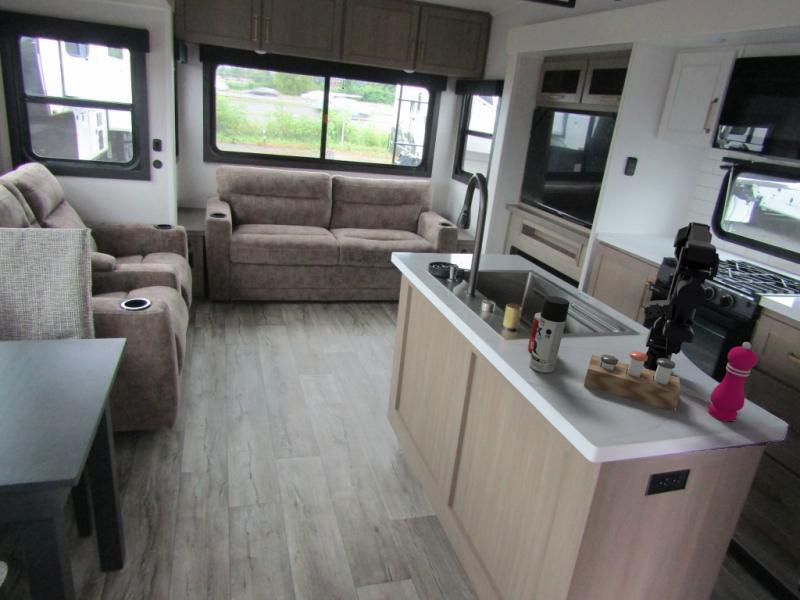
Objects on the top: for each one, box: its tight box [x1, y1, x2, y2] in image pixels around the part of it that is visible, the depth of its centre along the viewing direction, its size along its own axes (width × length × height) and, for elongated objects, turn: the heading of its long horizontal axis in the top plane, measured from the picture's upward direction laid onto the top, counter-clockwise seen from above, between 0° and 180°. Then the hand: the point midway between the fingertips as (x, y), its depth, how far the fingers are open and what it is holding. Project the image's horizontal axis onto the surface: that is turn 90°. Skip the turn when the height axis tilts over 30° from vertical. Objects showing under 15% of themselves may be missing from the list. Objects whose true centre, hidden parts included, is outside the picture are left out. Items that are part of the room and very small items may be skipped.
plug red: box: [627, 350, 648, 378], centre depth 143 cm, size 4×4×7 cm
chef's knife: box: [680, 384, 712, 404], centre depth 148 cm, size 19×1×3 cm
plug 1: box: [600, 354, 619, 370], centre depth 146 cm, size 4×4×7 cm
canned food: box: [527, 312, 541, 354], centre depth 160 cm, size 8×8×11 cm
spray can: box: [529, 295, 571, 374], centre depth 148 cm, size 7×7×20 cm
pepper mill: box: [707, 341, 758, 422], centre depth 134 cm, size 7×7×20 cm
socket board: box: [583, 354, 682, 412], centre depth 144 cm, size 22×10×5 cm, turn 66°
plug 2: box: [653, 358, 677, 385], centre depth 140 cm, size 4×4×7 cm
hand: (668, 354), depth 139 cm, fingers closed
